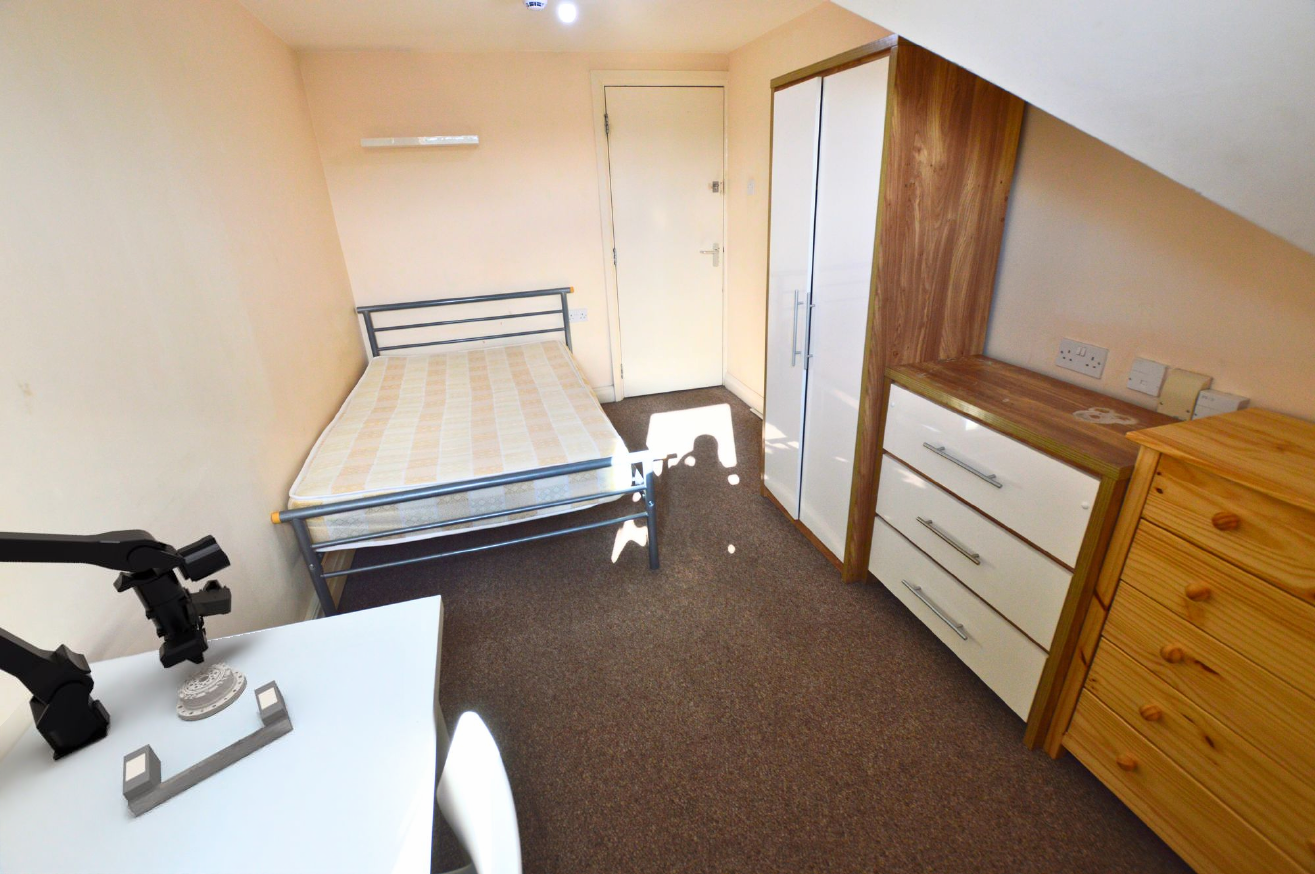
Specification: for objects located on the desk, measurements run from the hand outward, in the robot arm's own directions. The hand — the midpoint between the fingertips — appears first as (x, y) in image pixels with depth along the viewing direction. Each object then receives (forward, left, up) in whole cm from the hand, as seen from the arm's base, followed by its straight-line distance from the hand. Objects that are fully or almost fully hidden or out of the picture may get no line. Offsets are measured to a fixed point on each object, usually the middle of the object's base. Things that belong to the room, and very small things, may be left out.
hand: (200, 662), depth 106 cm
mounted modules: (0, -23, -2) cm, 23 cm away
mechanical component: (+1, -10, -2) cm, 10 cm away
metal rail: (0, -28, -2) cm, 28 cm away
